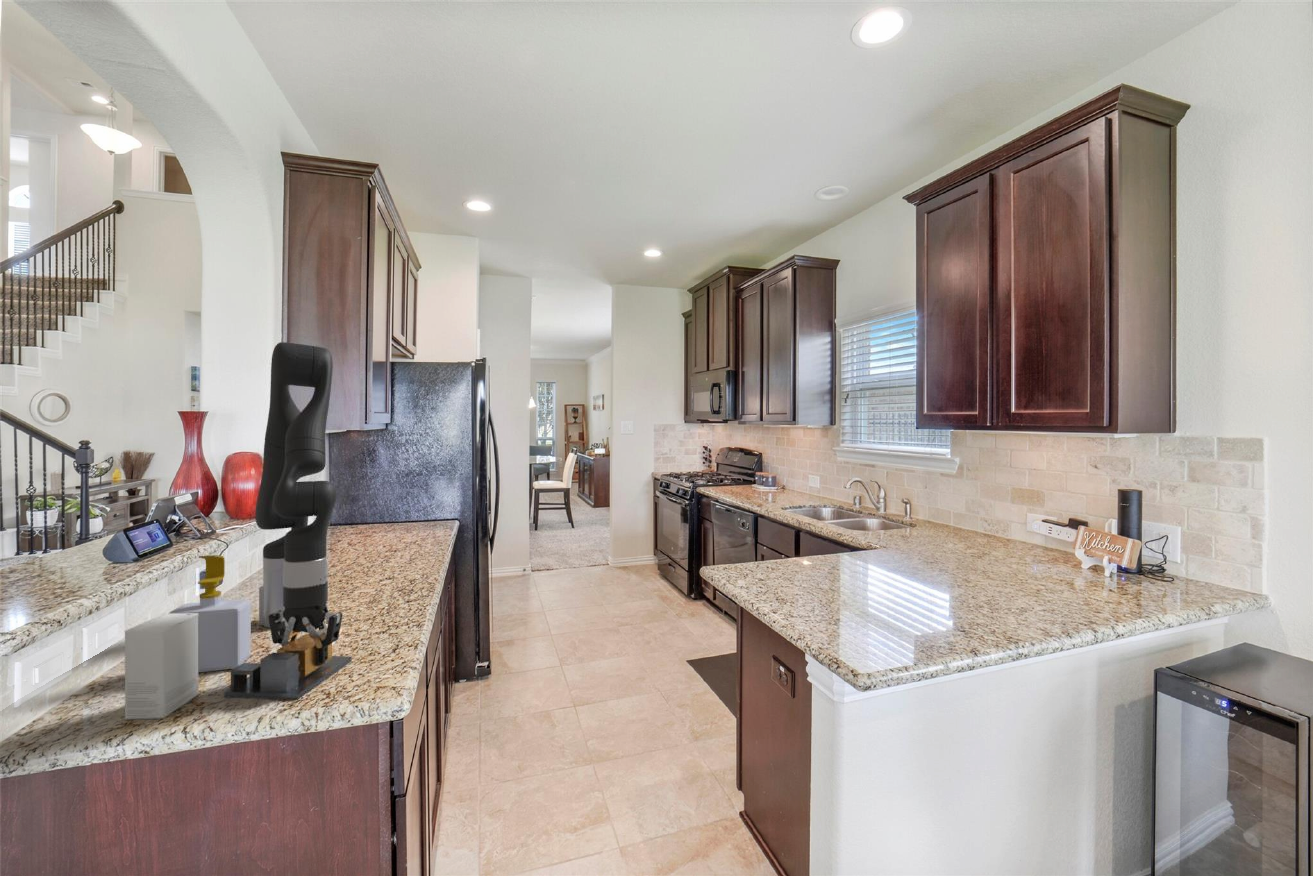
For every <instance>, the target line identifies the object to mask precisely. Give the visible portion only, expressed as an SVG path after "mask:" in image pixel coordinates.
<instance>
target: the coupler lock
mask: <svg viewBox="0 0 1313 876" xmlns="http://www.w3.org/2000/svg"><path fill="white" fill-rule="evenodd" d="M316 648H317V647H316V645H315V642H314V640H313V639H312V638H310V635H309V633H305V634H303V635H302V636H300V637H297V638H296V640H294V641H292V642H290V643H289V644H287V645H285V646H283V647H282V646H281V647H280V648H278V649H276V653H298V660H299V659H300V676H307V675H308V674H310V673H311V672H313V671H314V670H316V669H317V668H319V667H320V666H316V665H315V649H316ZM332 656H333V643H331V644H330V645H328V659H327V661H326V662H328V661H329V660H330V659H332ZM326 662H325V663H326ZM325 663H324V664H325ZM322 665H323V664H322ZM322 665H321V666H322Z"/></svg>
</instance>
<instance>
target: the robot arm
mask: <svg viewBox="0 0 1313 876" xmlns="http://www.w3.org/2000/svg"><path fill="white" fill-rule="evenodd" d="M271 354H272V355H271V363H270V365H271V366H270V393H269V409H268V416H267V423H266V429H265V435H264V443H263V458H262V472H261V480H260V484H259V489H258V494H257V499H256V504H255V512H254V513H255V514H254V515H255V523H256V525H257V527H258V528H260V529H261V530H268V531H269V530H270V531H271V530H272V531H273V530H281V529H290V528H291V529H290V530H289V531H287V532H286V534H285V535H284V536H282V537H279V538H277V539H275V540H273V541H271V542H269V543H267V544H265V545H264V546H263V549H262V585H261V586H259V588H258V625H259V626H264V627H265V628H269V629H270V634H271V639H272V640H271V641H272V643H273V644H280V645H281V648H282V647H283V646H285V645H287V644H289V643H290V642H292V641H294V640H296V639H298V636H299V634H300V633H305V634H309V635H310V638H312V639H313V640H314V642H315V645H316V647H317V648H316V649H315V665H316V666H321V665H322V664H324V663H325V662H326V661H327V659H328V645H330V644H331V643H332V644H333V643H335V642H337V641H338V640H339V637H340V631H341V625H342V620H343V612H341V611H338V612H336V613H335V612H330V611H329V609H328V608H327V602H328V598H329V589H328V588H329V585H328V584H329V583H328V582H329V581H328V580H329V570H328V569H329V567H328V565H329V564H328V562H327V561H328V560H327V558H328V557H327V535H328V530H329V526H330V525H329V524H330V520H331V518H332V515H333V513H334V509H335V506H336V503H337V498H338V492H337V489H336V487H335V486H334V484H333V483H332V482H331V481H328V480H314V481H313V480H311V481H310V480H309V481H308V480H307V481H299V480H300V479H301V478H304V477H307V476H311V475H315V474H318V473H321V472H322V471H324V470H325V468H326V465H327V464H326V463H327V462H326V456H327V454H326V453H327V452H326V450H327V449H326V431H327V429H326V428H327V421H328V415H329V406H330V399H331V393H332V392H331V391H332V382H333V367H334V364H333V357H332V356H333V355H332V353H331V351H330V350H329V349H328V348H327V347H323V346H316V345H309V344H301V343H296V342H295V343H294V342H285V341H284V342H283V341H282V342H281V341H280V342H277V344H276V345H275V346H274V347H273V351H272V353H271ZM289 386H295V387H297V386H298V387H306V388H314V390H313V393H312V397H311V399H310V401H309V402H308V403H307V405H305V407H304V408H303V409H302V411H301V410H300V409H299V408H298V407H297V405H296V403H295V401H294V400H293V398H292V396H291V393H290V391H289ZM313 516H314V517H315V518H314V520H313V522H311V523H310V524H308V523H309V517H313ZM325 620H326V622H325ZM317 630H318V631H317Z"/></svg>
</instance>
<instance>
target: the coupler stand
mask: <svg viewBox="0 0 1313 876" xmlns="http://www.w3.org/2000/svg"><path fill="white" fill-rule="evenodd" d="M351 662H352V656H348V655H347V656H346V655H345V656H341V655H332V659H330V660H329V661H328V662H326V663H325V664H323V665H322V666H320V667H319V668H317V669H316V670H314V671H313V672H311V673H310V674H308V675H307V676H300V659H299V660H298V653H277V652H271V653H269V654H267V655H266V656H264V657H262V658H261V659H260V663H259V662H257V663H256V662H252V663H251V662H244V663H243V664H241V665H239V666H237V667H236V668H234V669H230V688H228V689H226V690H224V692H223V694H224V695H223V698H237V699H238V698H240V699H241V698H242V699H243V698H244V699H273V700H276V699H277V700H300V699H302V697H303V696H305V695H306V694H309V692H310V691H312V690H313V689H315V688H316V687H317V686H319V685H320V684H323V682H324V681H326V680H327V679H329V678H330V677H332V676H334V674H335V673H338V672H339V670H341V669H342V668H344V667H345V666H347V665H348V664H350V663H351ZM248 676H249V677H248Z"/></svg>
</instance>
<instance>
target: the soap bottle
mask: <svg viewBox="0 0 1313 876" xmlns="http://www.w3.org/2000/svg"><path fill="white" fill-rule="evenodd" d="M198 558H199V559H203V560H205V577H204V578H203V579H200V580H198V581H197V584H198V585H201V588H204V592H202V593H200V594H199V602H190V603H184V604H182V605H179V606H178V607H176V608H175V609H173V610H171V611H169V612H167V614H174V613H198V614H199V615H198V673H204V672H205V673H207V672H214V671H215V672H216V671H222V670H223V671H224V670H232V669H234V668H236V667H237V666H239V665H241V664H243V663H246V661H247V660H248V659H249V658H250V656H251V655H252V654H251V653H252V652H251V651H252V643H251V640H252V633H251V632H252V631H251V630H252V629H251V628H252V626H251V625H252V624H251V623H252V622H251V620H252V618H251V617H252V616H251V614H252V611H251V610H252V608H251V607H252V605H251V604H252V603H251V599H247V598H246V599H245V598H244V599H230V600H222V591H221V590H217V589H216V588H217V587H218V586H219V585H220V581H221V580H223V579H224V578H225V573H226V572H225V563H226V562H225V556H224V555H216V554H214V555H199V556H198ZM216 586H217V587H216Z"/></svg>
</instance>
